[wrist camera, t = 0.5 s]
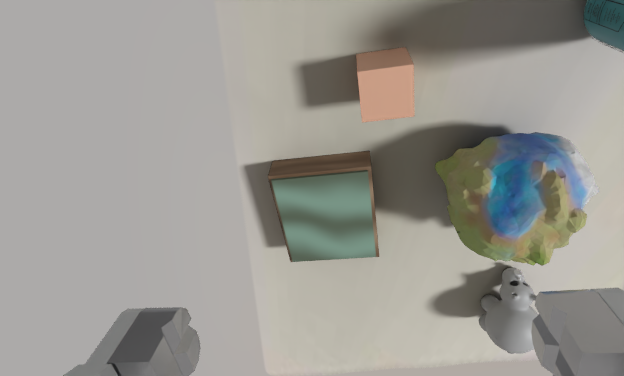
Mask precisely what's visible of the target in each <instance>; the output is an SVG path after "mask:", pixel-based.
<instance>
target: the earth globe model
mask: <svg viewBox="0 0 624 376" xmlns="http://www.w3.org/2000/svg"><path fill="white" fill-rule="evenodd" d="M435 170H436V171H437V173H438V174H439V176H440V177H441V178H442V179H443V181H444V183H445V186H446V191H447V197H448V201H449V203H450V204H449V205H448V207H447V209H448V212H449V216H450V220H451V222H452V224H453V225H454V227H455V229H456V231H457V233H458V235H459V237H460V239H461V241H462V242H463V243H464V245H465V246H467V247H468V248H469V249H471V250H472V251H474V252H476V253H477V254H479V255H481V256H484V257H488V258H490V259H493V260H494V261H497V260H503V261H510V260H512V261H515V262H522V263H528V264H531V265H535V263H538V264H540V265H544V264H547V263H549V261H550V258H551V256H552V253H553V249H555V248H560V247H564V246H566V245H568V244H569V238H570V237H571V235H572V234H573V233H576V232H577V231H579V230H580V229H581V228H582V227H584V226H585V223H586V218H587V214H586V213H585V212H584V211H583V210H582V209H583V207H584V206H585V205H586V203H587V202H588V201H589V200H590V198H591V197H592V196H594V195H595V194H597V193H598V192H599V188H598V186H597V185H596V183H595V181H594V175H593V174H592V173H591V171H590V168H589V166H588V164H587V163H586V161H585V160H584V158H583V156H582V155H581V154H580V152H579V151H578V149H577V148H576V147H575V145H574V144H573V143H572V142H571V141H570V140H568V139H566V138H563V137H561V136H557V135H552V134H544V133H537V132H535V133H531V134H524V133H517V134H505V135H503V136H498V137H489V138H486V139H485V140H484V141H482V142H481V144H480V145H478V146H476V147H474V148H466V149H458V150H456V152H455V153H454V154H453V156H451V157H449V158H448V159H447V160H441V161H438V162H437V163H436V164H435Z"/></svg>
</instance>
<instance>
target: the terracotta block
mask: <svg viewBox="0 0 624 376" xmlns="http://www.w3.org/2000/svg"><path fill="white" fill-rule="evenodd" d="M356 60H357V75H358V85H359V95H360V106H361V116H362V122H370V121H379V120H387V119H396V118H405V117H413V116H414V64H413V62H412V60H411V58H410V55H409V53H408V51H407V49H406V47H402V48H395V49H388V50H381V51H374V52H367V53H360V54H356Z"/></svg>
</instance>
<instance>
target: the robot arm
mask: <svg viewBox="0 0 624 376" xmlns="http://www.w3.org/2000/svg"><path fill="white" fill-rule="evenodd" d="M535 307H536V308H537V310H538V312H539V315H538V316H537V317H536V318H534V319H533V320H532V329H531V334H532V341H533V346H534V349H535V352H536V355H537V357H538V359H539V361H540V363H541V365H542V366H543V367H545V368H546V369H547V370H549V371H550V372H551V373H553V376H624V291H623V290H621V289H619V288H603V289H591V290H588V289H586V290H567V291H547V292H539V294H538V295H537V296H536V302H535ZM190 320H191V317H190V315H189V313H188V310H187V309H186V308H145V309H127V310H125V311H124V312H122V313H121V314H120V315H119V317H118V318H117V320H116V321H115V322H114V324H113V325H112V327H111V328H110V329H109V331H108V332H107V334H106V335H105V337H104V338H103V339H102V341H101V342H100V344H99V345H98V346H97V348H96V349H95V351H94V352H93V353H92V355H91V356H90V358H89V359H88V360H87V362H86V363H85V364H84V365H78V366H76V367H75V368H73V369H72V370H70V371H69V372H68V373H66V374H65V375H63V376H189V375H190V374H191V373H192V372H194V371H195V368H196V365H197V363H198V360H199V353H200V341H199V337H198V334H197V332H196V331H195V330H194V329H193V328H191V327H190V326H189V325H188V324H189V322H190Z"/></svg>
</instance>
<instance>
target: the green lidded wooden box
mask: <svg viewBox="0 0 624 376" xmlns="http://www.w3.org/2000/svg"><path fill="white" fill-rule="evenodd" d="M268 179H269V183H270V186H271V190H272V194H273V198H274V201H275V205H276V209H277V213H278V216H279V220H280V224H281V228H282V231H283V235H284V239H285V243H286V246H287V250H288V254H289V257H290V261H291V262H298V261H315V260H332V259H348V258H365V257H379V249H378V238H377V227H376V215H375V204H374V193H373V182H372V171H371V160H370V151H364V152H354V153H344V154H334V155H325V156H315V157H305V158H296V159H286V160H276V161H273V162H272V165H271V168H270V171H269V174H268Z"/></svg>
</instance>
